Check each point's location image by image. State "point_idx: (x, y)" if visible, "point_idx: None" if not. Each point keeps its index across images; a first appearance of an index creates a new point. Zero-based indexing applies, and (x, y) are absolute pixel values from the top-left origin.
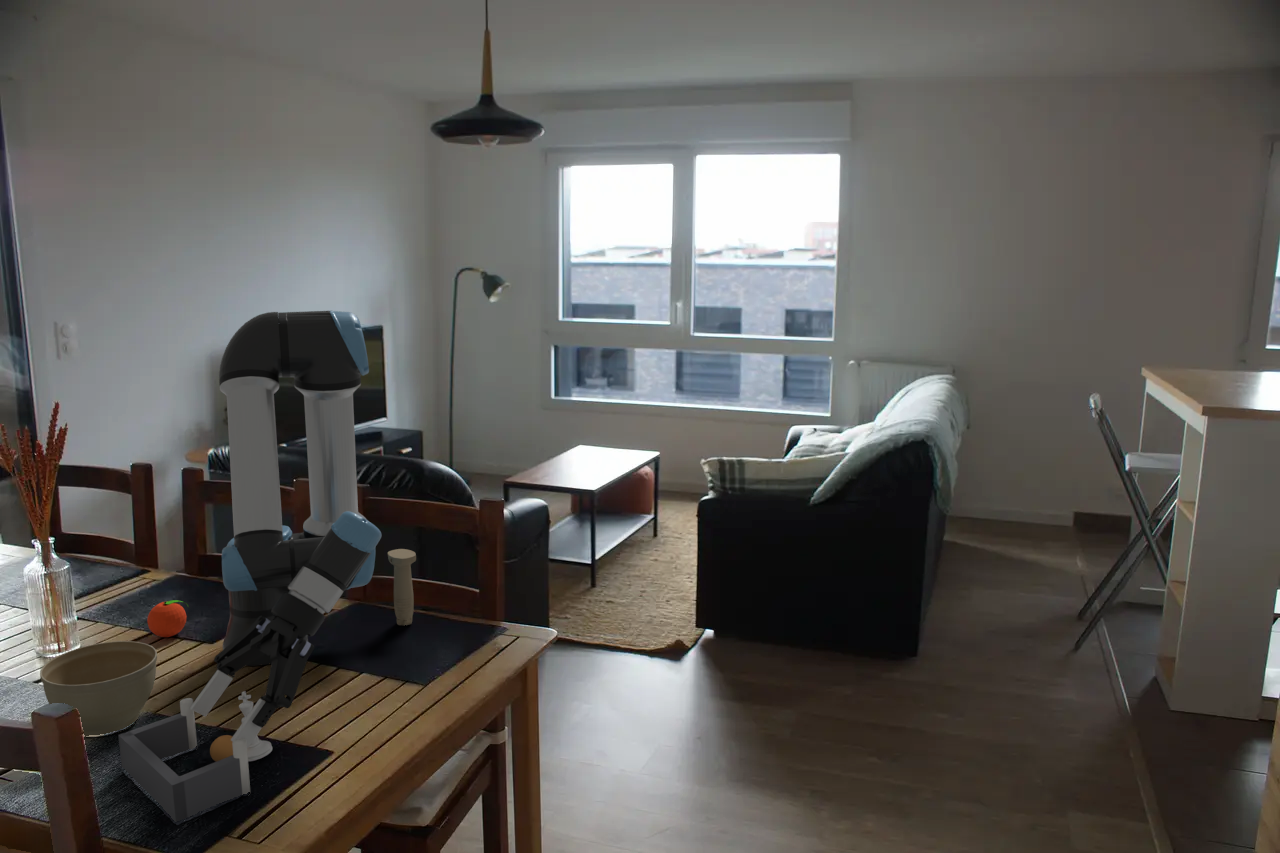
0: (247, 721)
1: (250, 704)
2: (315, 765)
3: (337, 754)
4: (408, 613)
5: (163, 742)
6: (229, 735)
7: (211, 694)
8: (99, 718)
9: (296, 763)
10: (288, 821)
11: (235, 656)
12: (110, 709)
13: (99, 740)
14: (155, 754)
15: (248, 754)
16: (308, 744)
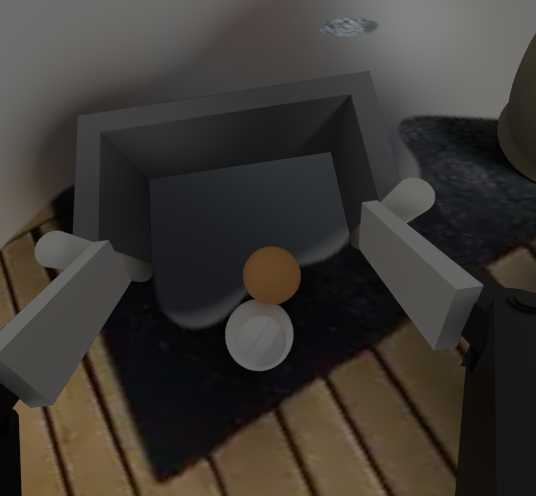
0: (51, 283)
1: (241, 351)
2: (136, 421)
3: (143, 484)
4: None
5: (351, 174)
6: (278, 287)
7: (390, 257)
8: (516, 80)
9: (172, 390)
10: (11, 304)
11: (523, 413)
12: (529, 81)
13: (487, 123)
14: (342, 169)
15: (238, 313)
16: (228, 446)
